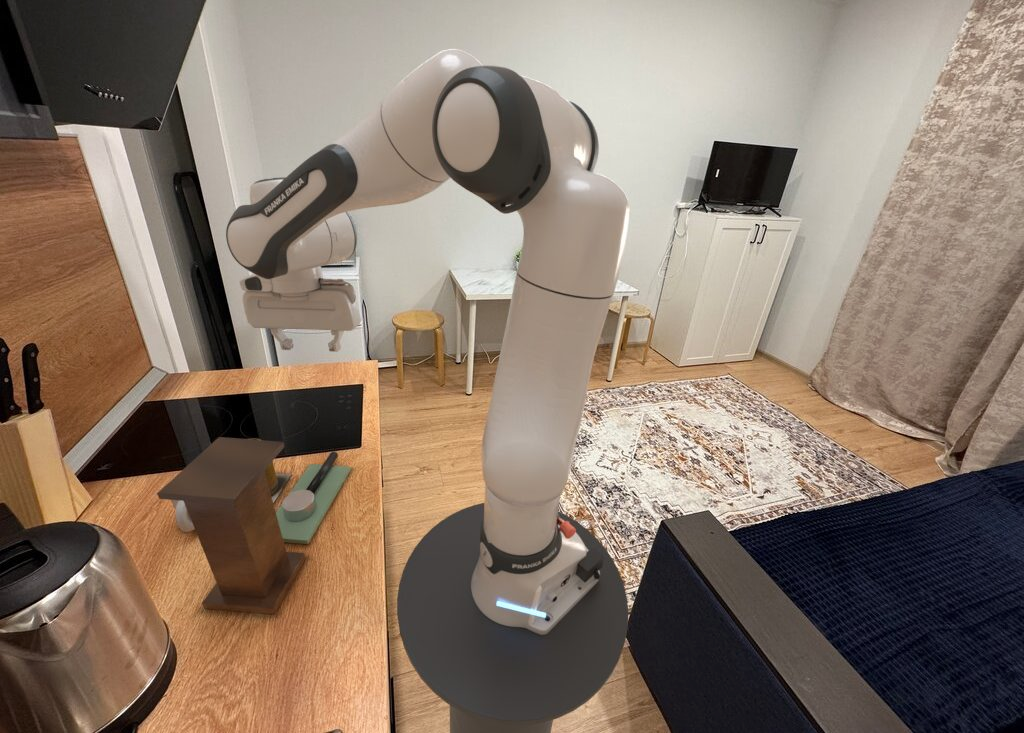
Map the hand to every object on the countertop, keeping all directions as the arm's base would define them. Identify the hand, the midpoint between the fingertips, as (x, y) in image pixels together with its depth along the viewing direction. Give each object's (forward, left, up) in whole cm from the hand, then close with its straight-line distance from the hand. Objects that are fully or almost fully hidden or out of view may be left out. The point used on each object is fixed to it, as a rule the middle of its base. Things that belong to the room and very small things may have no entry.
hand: (311, 349), depth 80 cm
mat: (+6, +8, -30) cm, 31 cm away
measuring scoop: (+4, +5, -29) cm, 29 cm away
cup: (+24, +3, -30) cm, 39 cm away
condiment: (+13, -1, -30) cm, 33 cm away
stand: (+16, +22, -30) cm, 40 cm away
